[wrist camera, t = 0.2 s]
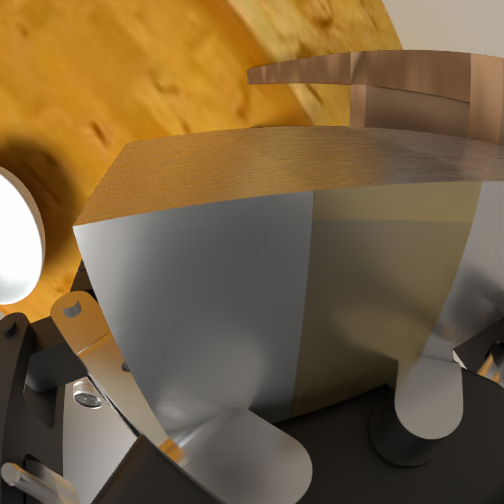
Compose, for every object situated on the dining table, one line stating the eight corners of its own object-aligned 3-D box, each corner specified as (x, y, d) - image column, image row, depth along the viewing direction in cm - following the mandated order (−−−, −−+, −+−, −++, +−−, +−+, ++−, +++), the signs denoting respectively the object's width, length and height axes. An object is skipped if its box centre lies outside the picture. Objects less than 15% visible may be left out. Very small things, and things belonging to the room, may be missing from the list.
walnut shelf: (247, 69, 33) (530, 63, 4) (364, 76, 37) (597, 134, 8) (249, 142, 38) (471, 318, 10) (362, 138, 42) (570, 248, 13)
